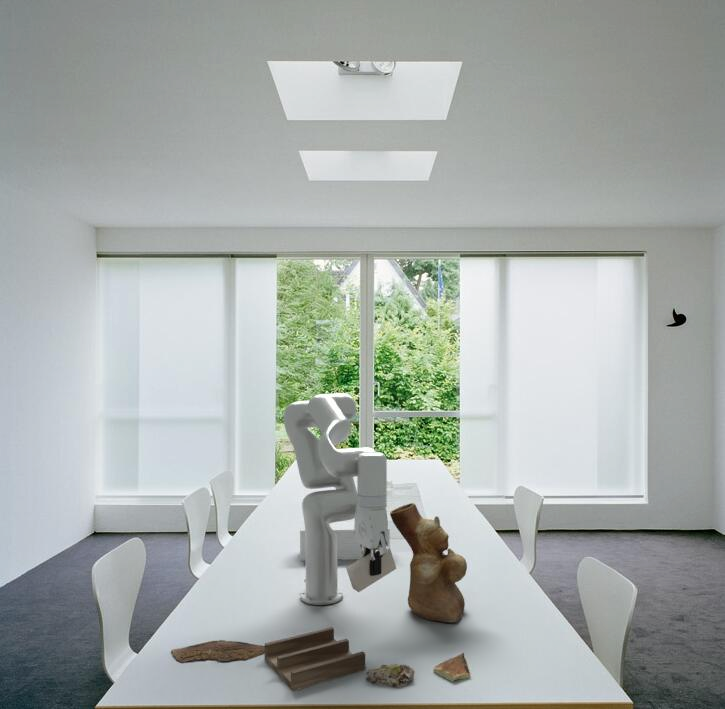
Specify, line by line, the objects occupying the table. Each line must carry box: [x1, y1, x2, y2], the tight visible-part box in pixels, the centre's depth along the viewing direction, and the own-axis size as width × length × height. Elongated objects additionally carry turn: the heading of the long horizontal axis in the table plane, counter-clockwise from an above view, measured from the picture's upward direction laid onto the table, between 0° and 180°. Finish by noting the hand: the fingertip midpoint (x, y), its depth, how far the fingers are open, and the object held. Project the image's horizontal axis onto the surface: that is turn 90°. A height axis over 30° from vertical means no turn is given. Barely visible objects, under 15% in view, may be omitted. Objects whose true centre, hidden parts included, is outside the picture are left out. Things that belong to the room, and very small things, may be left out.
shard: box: [432, 652, 471, 682], centre depth 143 cm, size 11×8×2 cm
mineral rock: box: [366, 663, 416, 688], centre depth 140 cm, size 11×4×8 cm
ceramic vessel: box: [389, 502, 468, 623], centre depth 177 cm, size 16×22×30 cm
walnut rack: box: [264, 626, 366, 691], centre depth 146 cm, size 17×18×4 cm
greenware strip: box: [345, 547, 397, 593], centre depth 160 cm, size 3×12×6 cm, turn 120°
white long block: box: [299, 521, 391, 561], centre depth 229 cm, size 32×11×11 cm, turn 94°
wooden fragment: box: [170, 639, 265, 664], centre depth 153 cm, size 26×11×1 cm, turn 92°
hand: (371, 572), depth 161 cm, fingers closed on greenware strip, 2 cm apart
